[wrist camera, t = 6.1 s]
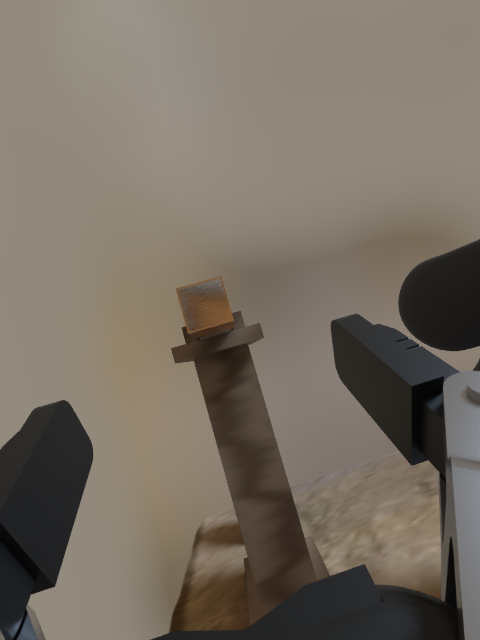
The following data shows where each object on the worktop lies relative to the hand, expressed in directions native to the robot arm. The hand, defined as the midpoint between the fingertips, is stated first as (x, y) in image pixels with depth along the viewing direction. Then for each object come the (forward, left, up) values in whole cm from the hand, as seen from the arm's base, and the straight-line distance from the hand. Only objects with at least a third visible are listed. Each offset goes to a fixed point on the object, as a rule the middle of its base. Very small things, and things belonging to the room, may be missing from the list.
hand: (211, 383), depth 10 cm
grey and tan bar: (0, -24, +3) cm, 24 cm away
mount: (0, -30, -29) cm, 42 cm away
